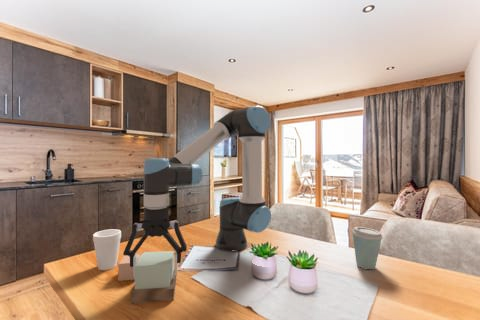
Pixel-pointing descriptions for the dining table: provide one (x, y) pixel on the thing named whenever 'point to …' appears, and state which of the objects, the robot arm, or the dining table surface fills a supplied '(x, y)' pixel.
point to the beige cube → (125, 269)
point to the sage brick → (154, 270)
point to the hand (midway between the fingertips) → (156, 274)
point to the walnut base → (153, 294)
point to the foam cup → (107, 248)
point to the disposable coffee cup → (366, 246)
